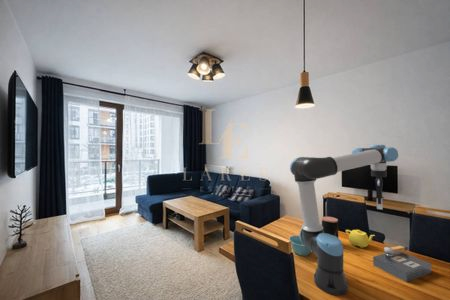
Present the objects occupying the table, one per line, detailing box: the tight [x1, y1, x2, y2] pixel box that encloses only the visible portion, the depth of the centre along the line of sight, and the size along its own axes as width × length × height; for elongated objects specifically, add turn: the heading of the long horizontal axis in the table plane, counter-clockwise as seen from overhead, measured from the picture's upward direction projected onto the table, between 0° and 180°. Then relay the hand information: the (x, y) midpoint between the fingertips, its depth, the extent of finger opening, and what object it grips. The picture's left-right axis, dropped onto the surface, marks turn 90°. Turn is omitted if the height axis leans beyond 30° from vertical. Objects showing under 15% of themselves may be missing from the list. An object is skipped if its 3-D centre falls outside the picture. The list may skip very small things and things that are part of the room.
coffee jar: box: [321, 216, 339, 238], centre depth 142 cm, size 11×11×18 cm
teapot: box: [345, 229, 376, 249], centre depth 138 cm, size 18×11×11 cm, turn 38°
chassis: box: [372, 251, 432, 283], centre depth 110 cm, size 22×16×6 cm
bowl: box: [288, 235, 312, 257], centre depth 130 cm, size 16×16×8 cm
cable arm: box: [383, 243, 409, 254], centre depth 117 cm, size 4×17×2 cm, turn 106°
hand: (379, 208), depth 117 cm, fingers closed
